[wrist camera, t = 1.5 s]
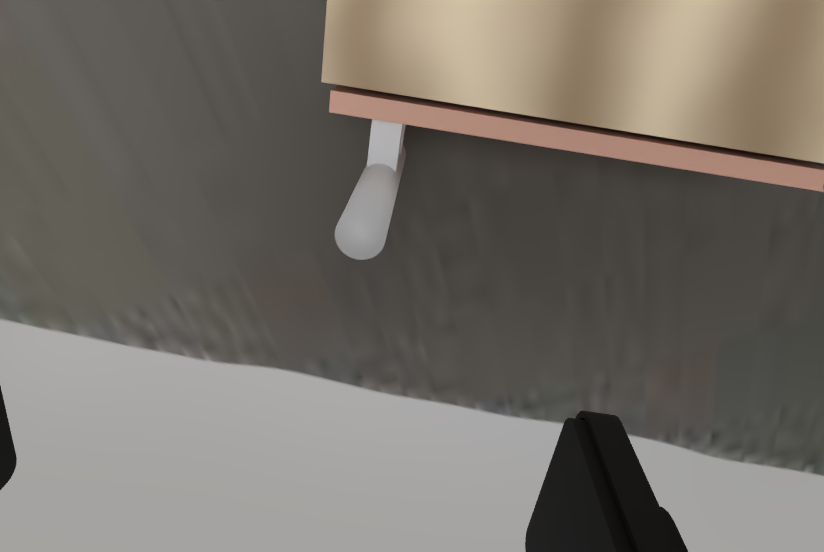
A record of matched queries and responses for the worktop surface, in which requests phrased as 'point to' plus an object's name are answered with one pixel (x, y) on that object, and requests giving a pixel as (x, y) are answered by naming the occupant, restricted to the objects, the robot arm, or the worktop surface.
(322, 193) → the worktop surface
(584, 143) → the door
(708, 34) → the cabinet
